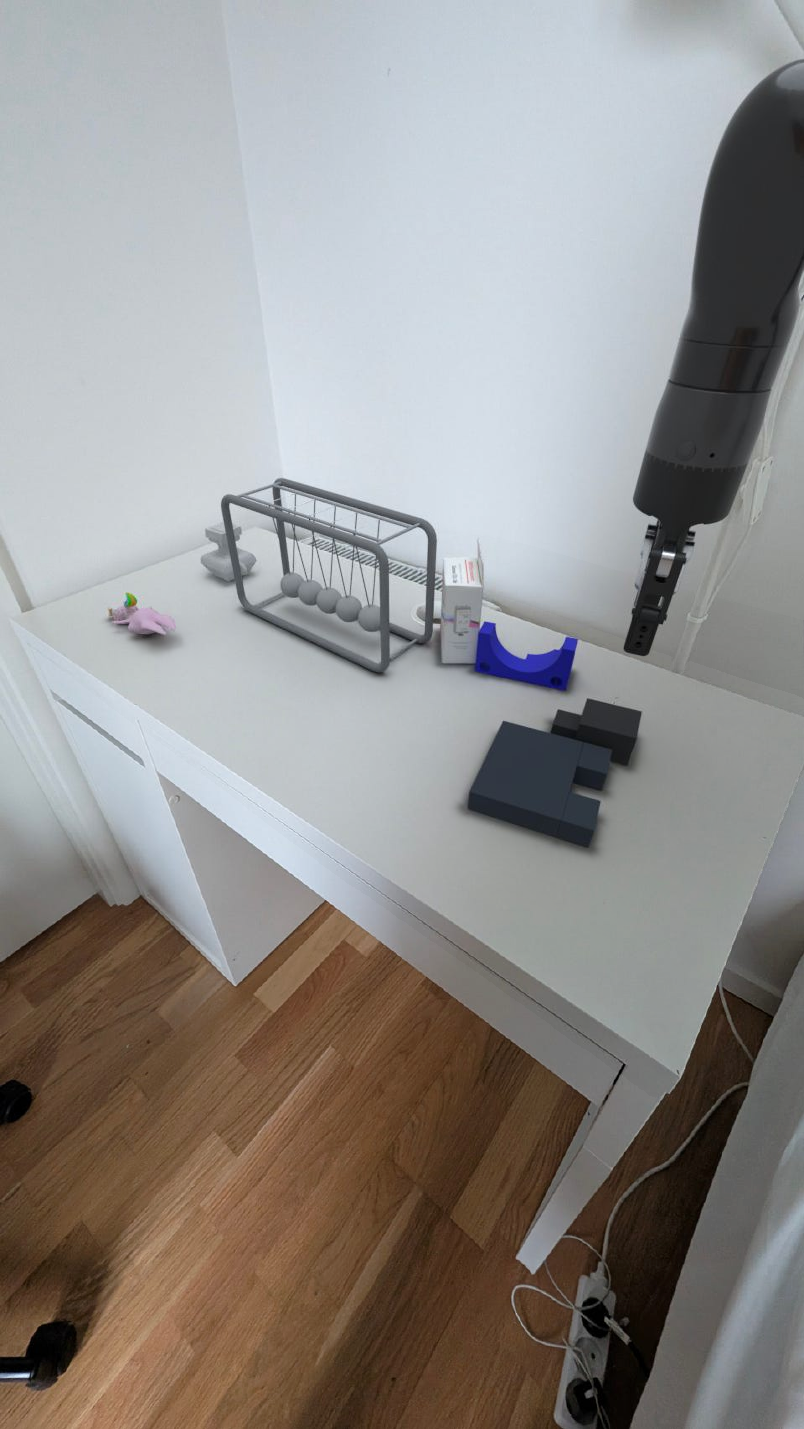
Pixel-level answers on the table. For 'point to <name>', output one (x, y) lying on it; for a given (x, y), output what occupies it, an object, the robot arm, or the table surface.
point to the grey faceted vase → (225, 553)
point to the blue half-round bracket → (524, 661)
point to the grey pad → (541, 782)
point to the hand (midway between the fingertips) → (639, 630)
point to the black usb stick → (601, 727)
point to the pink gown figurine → (141, 618)
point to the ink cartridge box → (461, 608)
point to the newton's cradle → (329, 597)
